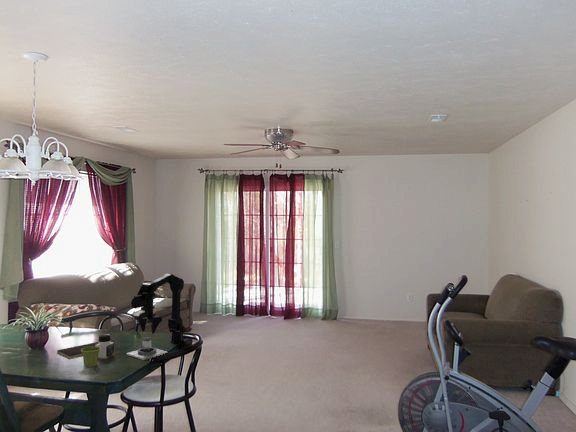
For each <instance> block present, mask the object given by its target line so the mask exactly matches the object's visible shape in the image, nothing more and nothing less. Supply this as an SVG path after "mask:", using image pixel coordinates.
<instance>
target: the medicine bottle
mask: <svg viewBox="0 0 576 432" xmlns="http://www.w3.org/2000/svg"><path fill="white" fill-rule="evenodd" d="M98 343H99V344H97V345H95V347H100V348H101V349H100V351H99V354H98V359H108V358H110V357H113V356H114V355H115V344H114V342H113V341H111V334H109V333H105V334H104V333H103V334H101V335H99V336H98Z"/></svg>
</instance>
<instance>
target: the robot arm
mask: <svg viewBox="0 0 576 432" xmlns="http://www.w3.org/2000/svg"><path fill="white" fill-rule="evenodd" d="M165 284H169V289H170V290H171V293H172V295H171V303H172V304H171V316H170V318H168V320H167V327H168V330H169V333H171V338H170V339H171V340H170V341H169V343H173V344H182V343H185V340H184V333H185V332H186V330H187V329H186V327H185V325H183V319H182V317H181V298H182V297H181V295H182V294H181V293H182V291H183V290H184V286H185V281H184V280H183V278H180V277H178V276H176V275H175V274H173V273H164V275H162V276H160V277H158V278H156V279H154V280H152V281H147V282H143V283H142V284H141V286H140V288H139V290H138V293H137V294H136V295H134V296H133V298H132V299H131V302H130V305H131V307H132V308H133V309H138V308H139V309H140V310H139V311H137V312H135V313H133V318H134V319H133V320H135V321H137V322H138V323H139V325H140V328H141V331H142V332H145V330H146V326H147V320H149V324H150V326H151V334H152V335H154V334H155V333H156V331H157V328H158V327H159V325H160V324H161V322H162V321H163V317H162V316H161V315H158V314H157V315H156V313H154V309H156V306H155V305H154V298H155V297H156V296H157V294H155V292H157V290H158V288H160V287H162V286H164V285H165ZM182 340H184V341H183V342H182Z"/></svg>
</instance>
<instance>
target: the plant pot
mask: <svg viewBox="0 0 576 432" xmlns="http://www.w3.org/2000/svg"><path fill="white" fill-rule="evenodd" d="M100 349H101V348H100V347H86V348H83V349H81V351H82V354H83V356H82V358H83V359H82V360H83V367H85V368H93V367H95V366H98V360H99V358H98V354H99V351H100Z"/></svg>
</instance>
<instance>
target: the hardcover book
mask: <svg viewBox="0 0 576 432" xmlns="http://www.w3.org/2000/svg"><path fill="white" fill-rule="evenodd" d="M97 344H99V341H98V342H96V341H95V342H92V343H85V344H82V345H76V346H70V347H66V348H61V349H57V352H56V353H57V354H59V355H60V356H61V355H62V356H63V355H64V356H63V357H65V356H66V357H65V358H67V357H68V358H67V359H73V358H78V357H83V354H82V351H81V349H83V348H86V347H95V345H97Z"/></svg>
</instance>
